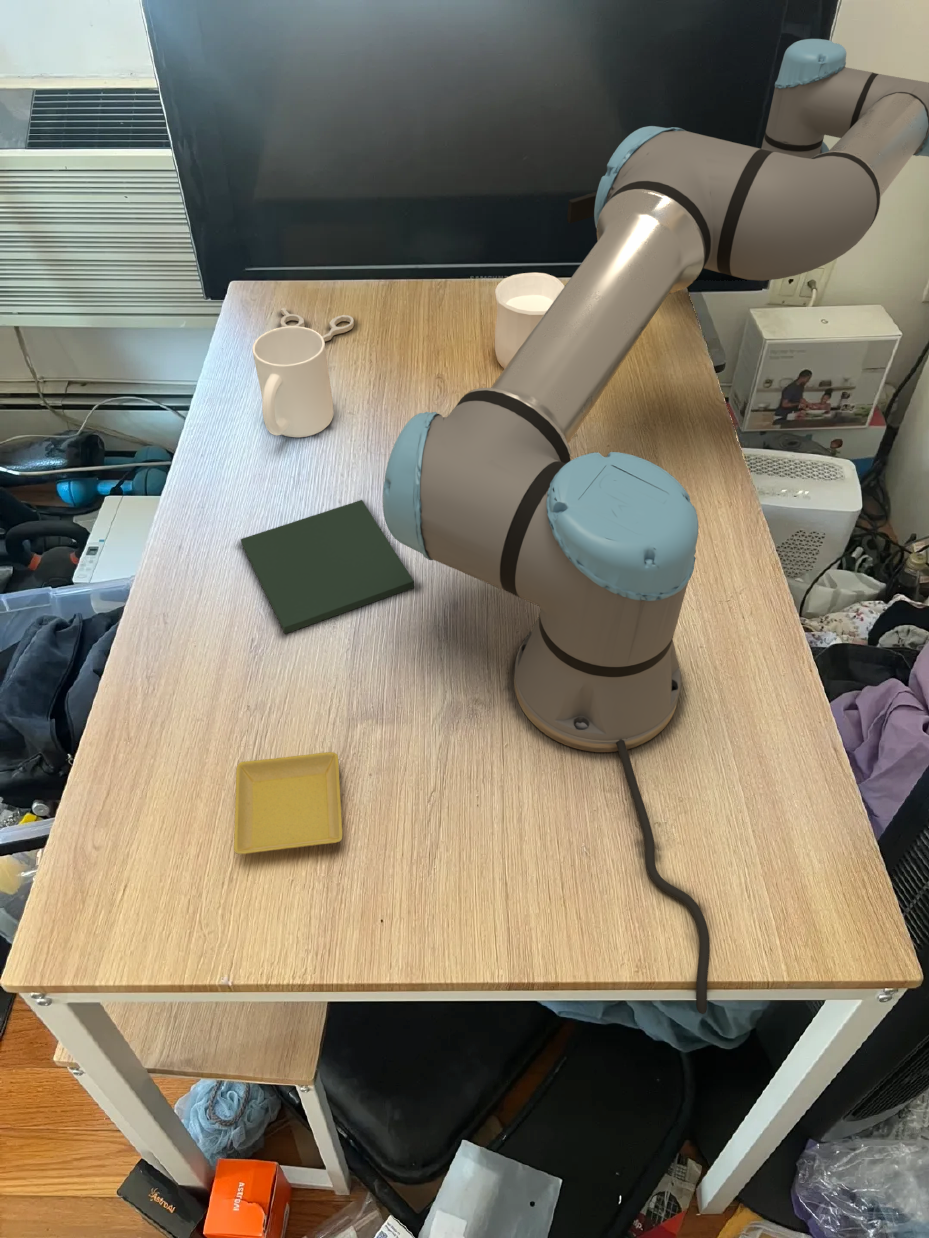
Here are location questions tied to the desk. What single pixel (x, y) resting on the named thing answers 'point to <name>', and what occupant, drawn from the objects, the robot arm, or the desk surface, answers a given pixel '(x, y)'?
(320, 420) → the mug
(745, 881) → the desk surface
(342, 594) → the cup mat
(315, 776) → the saucer
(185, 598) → the desk surface
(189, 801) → the desk surface
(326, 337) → the scissors
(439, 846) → the desk surface
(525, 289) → the cup
